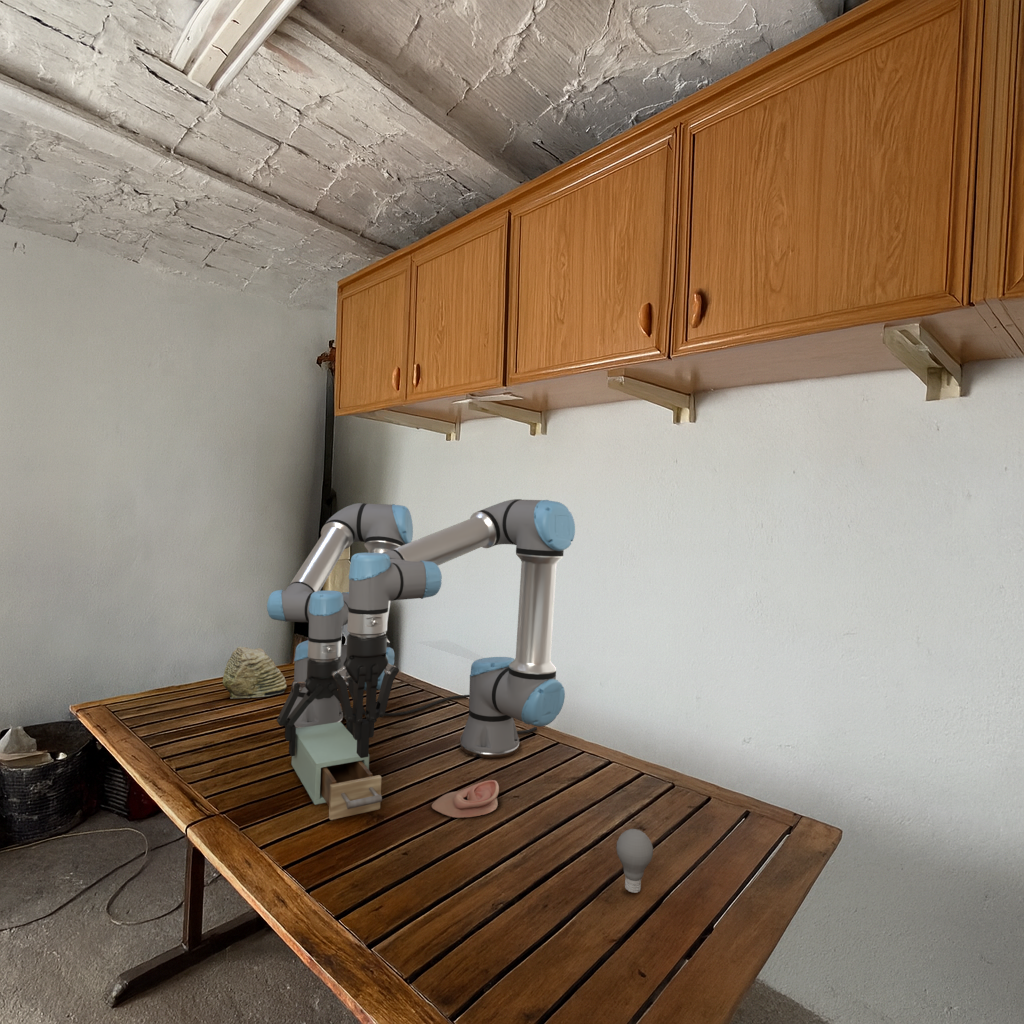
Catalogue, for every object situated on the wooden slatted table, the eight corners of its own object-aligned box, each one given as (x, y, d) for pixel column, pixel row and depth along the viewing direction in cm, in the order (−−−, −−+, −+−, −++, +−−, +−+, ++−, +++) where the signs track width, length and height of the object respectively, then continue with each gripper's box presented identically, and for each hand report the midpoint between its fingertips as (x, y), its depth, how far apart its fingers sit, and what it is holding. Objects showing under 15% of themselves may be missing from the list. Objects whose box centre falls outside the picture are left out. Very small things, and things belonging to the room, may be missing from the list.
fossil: (218, 695, 195) (220, 647, 195) (278, 685, 208) (279, 640, 207) (228, 703, 189) (230, 653, 188) (289, 692, 201) (290, 645, 201)
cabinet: (367, 793, 136) (369, 754, 136) (314, 804, 130) (316, 763, 130) (339, 756, 155) (340, 721, 155) (291, 764, 149) (292, 728, 149)
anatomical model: (427, 794, 128) (444, 771, 139) (426, 813, 128) (443, 788, 139) (490, 803, 125) (503, 779, 137) (489, 823, 126) (502, 797, 137)
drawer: (389, 821, 123) (391, 788, 123) (338, 833, 118) (339, 798, 118) (350, 769, 145) (351, 741, 145) (305, 778, 140) (306, 748, 140)
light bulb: (610, 879, 108) (613, 822, 108) (644, 879, 109) (647, 822, 109) (619, 902, 102) (622, 840, 102) (655, 901, 103) (658, 840, 103)
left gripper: (272, 667, 138) (268, 764, 138) (380, 656, 151) (377, 746, 151) (265, 659, 144) (262, 752, 145) (370, 649, 157) (367, 735, 157)
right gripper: (339, 640, 115) (334, 768, 116) (406, 634, 122) (401, 756, 123) (328, 631, 122) (323, 753, 122) (392, 627, 128) (387, 742, 129)
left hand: (320, 749), depth 148 cm, fingers open, 12 cm apart
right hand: (362, 754), depth 122 cm, fingers closed
